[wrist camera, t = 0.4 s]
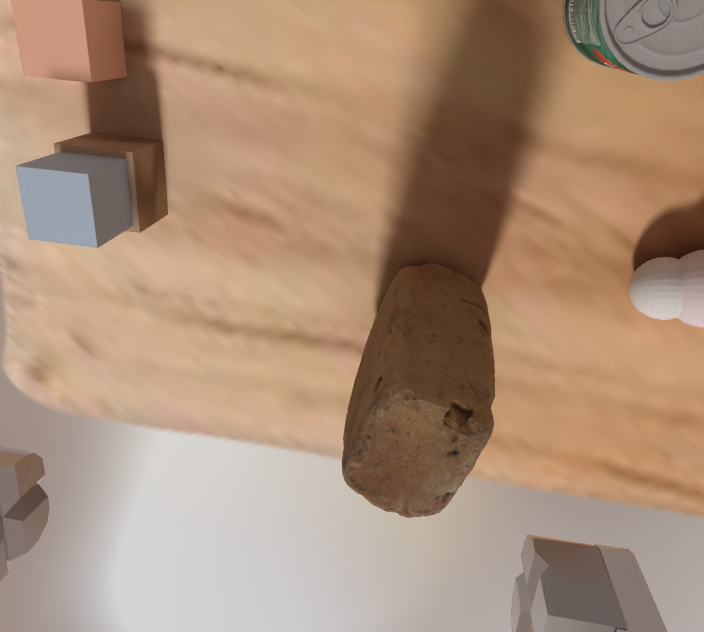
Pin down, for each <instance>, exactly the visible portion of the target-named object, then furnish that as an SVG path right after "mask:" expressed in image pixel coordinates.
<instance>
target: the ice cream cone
mask: <svg viewBox="0 0 704 632" xmlns="http://www.w3.org/2000/svg"><path fill="white" fill-rule="evenodd" d="M629 294H630V298H631V300H632V302H633V304H634V306H635V307H636V308H637V309H638V310H639V311H640V312H642V313H643V314H645V315H647V316H649V317H651V318H655V319H661V320H666V319H673V318H678V319H680V320H681V321H683V322H685V323H687V324H690V325H693V326H697V327H704V250H698V251H695V252H691V253H689V254H687V255H684V256H682V257H681V258H680V259H676V258H672V257H659V258H655V259H651V260H649V261H647V262H645V263H643V264H642V265H641V266H639V267H638V269H637V270H636V271H635V272H634V274H633V275H632V277H631V280H630V283H629Z"/></svg>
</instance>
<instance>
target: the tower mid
mask: <svg viewBox="0 0 704 632" xmlns="http://www.w3.org/2000/svg"><path fill="white" fill-rule="evenodd" d="M16 171H17V177H18V182H19V188H20V193H21V198H22V204H23V209H24V215H25V220H26V226H27V231H28V236H29V239H32V240H40V241H47V242H55V243H63V244H71V245H79V246H87V247H94V248H98V247H100V246H101V245H103V244H105V243H106V242H108V241H109V240H111V239H113V238H114V237H116V236H117V235H119V234H121V233H122V232H124V231H125V230H127V229H129V228H130V227H132V226H133V222H132V212H131V202H130V191H129V181H128V171H127V161H126V159H122V158H113V157H104V156H95V155H86V154H77V153H68V152H59V153H55V154H52V155H49V156H46V157H43V158H40V159H36V160H33V161H30V162H27V163H24V164H21V165H17V166H16Z"/></svg>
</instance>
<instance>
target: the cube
mask: <svg viewBox="0 0 704 632" xmlns="http://www.w3.org/2000/svg"><path fill="white" fill-rule="evenodd" d="M11 3H12V9H13V15H14V21H15V27H16V33H17V39H18V45H19V51H20V57H21V63H22V69H23V75H24V76H31V77H41V78H51V79H61V80H71V81H82V82H98V81H105V80H111V79H118V78H125V77H127V69H126V58H125V48H124V37H123V26H122V15H121V4H120V2H110V1H98V0H11Z"/></svg>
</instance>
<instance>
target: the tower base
mask: <svg viewBox="0 0 704 632" xmlns="http://www.w3.org/2000/svg"><path fill="white" fill-rule="evenodd" d="M54 149H55V153H59V152H68V153H77V154H86V155H95V156H104V157H113V158H122V159H126V161H127V171H128V181H129V191H130V202H131V212H132V222H133V226H132V227H130V228H129V229H127V230H125V231H130V232H138V233H140V232H142V231H143V230H145V229H146V228H148V227H149V226H151V225H153V224H154V223H156V222H157V221H159V220H160V219H162V218H163V217H165V216H166V215H168V209H167V195H166V181H165V167H164V153H163V141H162V140H152V139H143V138H134V137H124V136H115V135H106V134H96V133H89V134H85V135H82V136H79V137H75V138H72V139H68V140H65V141H61V142H58V143H54Z"/></svg>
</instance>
